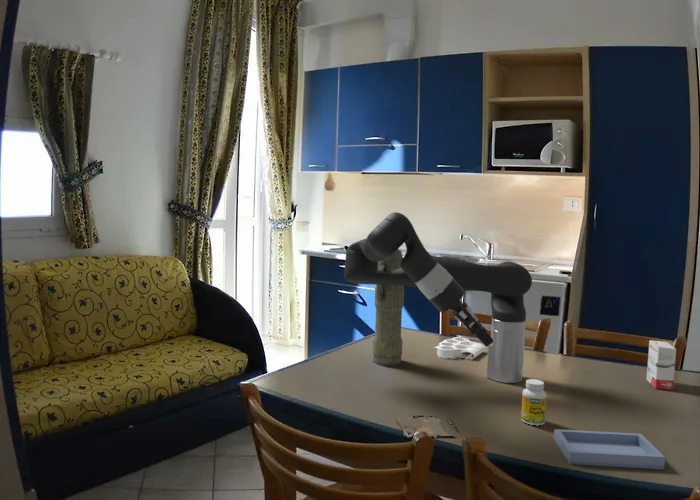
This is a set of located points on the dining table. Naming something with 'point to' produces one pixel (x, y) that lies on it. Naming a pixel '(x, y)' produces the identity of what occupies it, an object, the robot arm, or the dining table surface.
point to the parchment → (425, 427)
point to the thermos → (388, 316)
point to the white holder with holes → (459, 348)
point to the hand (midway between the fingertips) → (487, 338)
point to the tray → (608, 449)
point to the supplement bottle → (534, 403)
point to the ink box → (661, 365)
